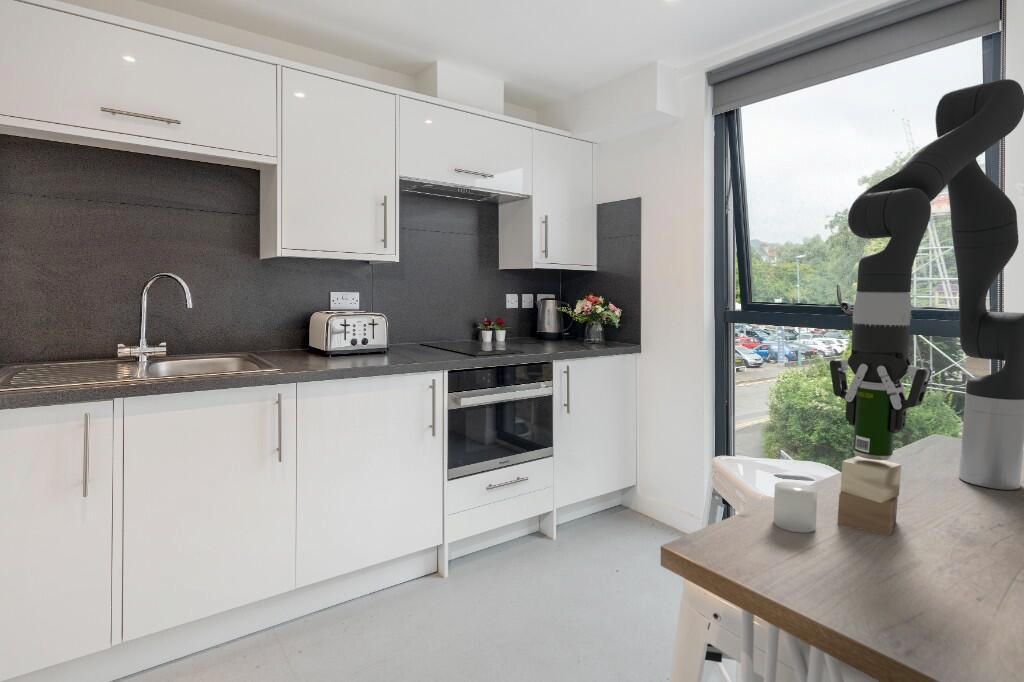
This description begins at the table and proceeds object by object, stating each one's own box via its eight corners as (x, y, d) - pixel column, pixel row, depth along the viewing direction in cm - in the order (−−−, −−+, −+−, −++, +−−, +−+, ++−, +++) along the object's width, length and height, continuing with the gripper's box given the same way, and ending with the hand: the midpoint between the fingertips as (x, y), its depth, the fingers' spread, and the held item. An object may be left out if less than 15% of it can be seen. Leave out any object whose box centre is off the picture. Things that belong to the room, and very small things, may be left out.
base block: (846, 511, 97) (848, 482, 96) (895, 522, 92) (898, 492, 92) (837, 524, 91) (839, 493, 91) (889, 536, 87) (891, 504, 86)
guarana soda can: (882, 462, 87) (887, 385, 86) (845, 454, 92) (850, 380, 90) (898, 457, 90) (904, 382, 89) (862, 449, 94) (867, 377, 93)
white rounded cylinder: (782, 515, 94) (783, 479, 94) (821, 525, 90) (822, 487, 90) (767, 524, 90) (768, 487, 90) (807, 536, 86) (809, 497, 86)
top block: (858, 484, 95) (860, 455, 95) (898, 495, 90) (901, 464, 90) (840, 491, 92) (842, 460, 91) (881, 502, 87) (883, 470, 87)
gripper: (945, 323, 85) (936, 434, 87) (843, 318, 97) (837, 417, 98) (925, 325, 81) (916, 442, 82) (821, 319, 92) (815, 422, 94)
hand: (873, 427), depth 90 cm, fingers closed on guarana soda can, 5 cm apart
